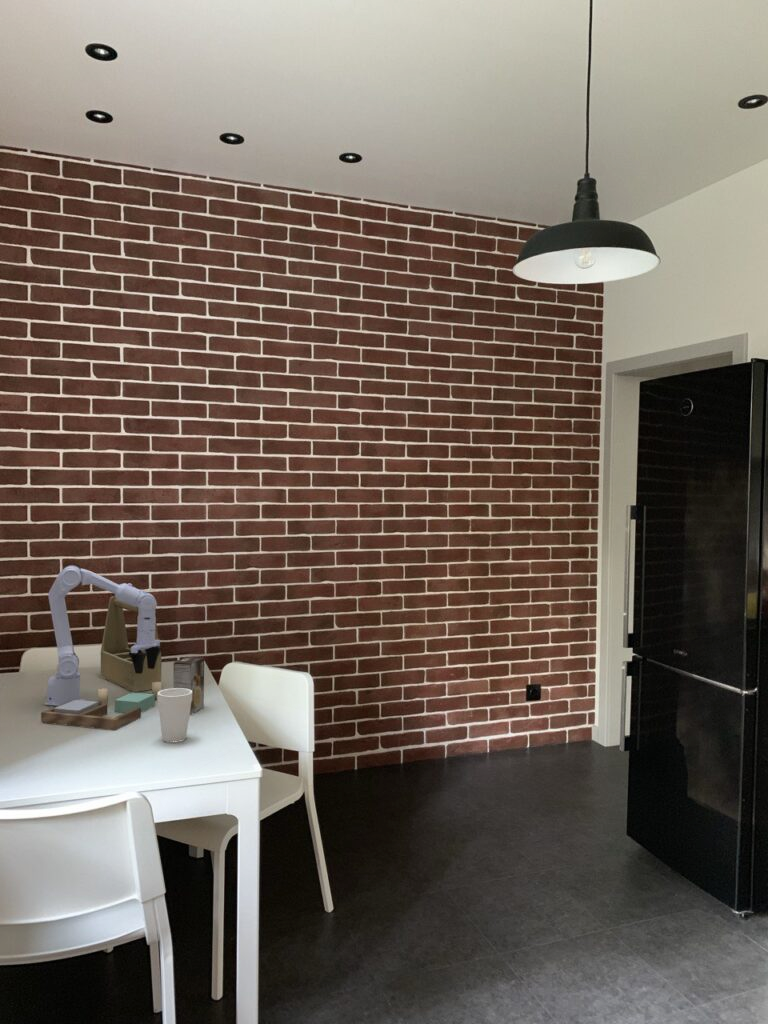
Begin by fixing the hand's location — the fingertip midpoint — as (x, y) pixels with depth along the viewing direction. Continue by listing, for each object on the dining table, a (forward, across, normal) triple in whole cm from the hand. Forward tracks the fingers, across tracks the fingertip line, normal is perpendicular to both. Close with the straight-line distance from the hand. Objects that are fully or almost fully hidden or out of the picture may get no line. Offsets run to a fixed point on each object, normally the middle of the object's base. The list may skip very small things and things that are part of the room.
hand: (145, 670), depth 250 cm
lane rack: (+9, -26, +1) cm, 27 cm away
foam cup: (+9, -35, -31) cm, 48 cm away
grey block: (+10, -21, +7) cm, 24 cm away
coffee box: (+9, -8, -21) cm, 24 cm away
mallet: (+9, -7, -4) cm, 12 cm away
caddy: (+10, +18, +16) cm, 26 cm away
